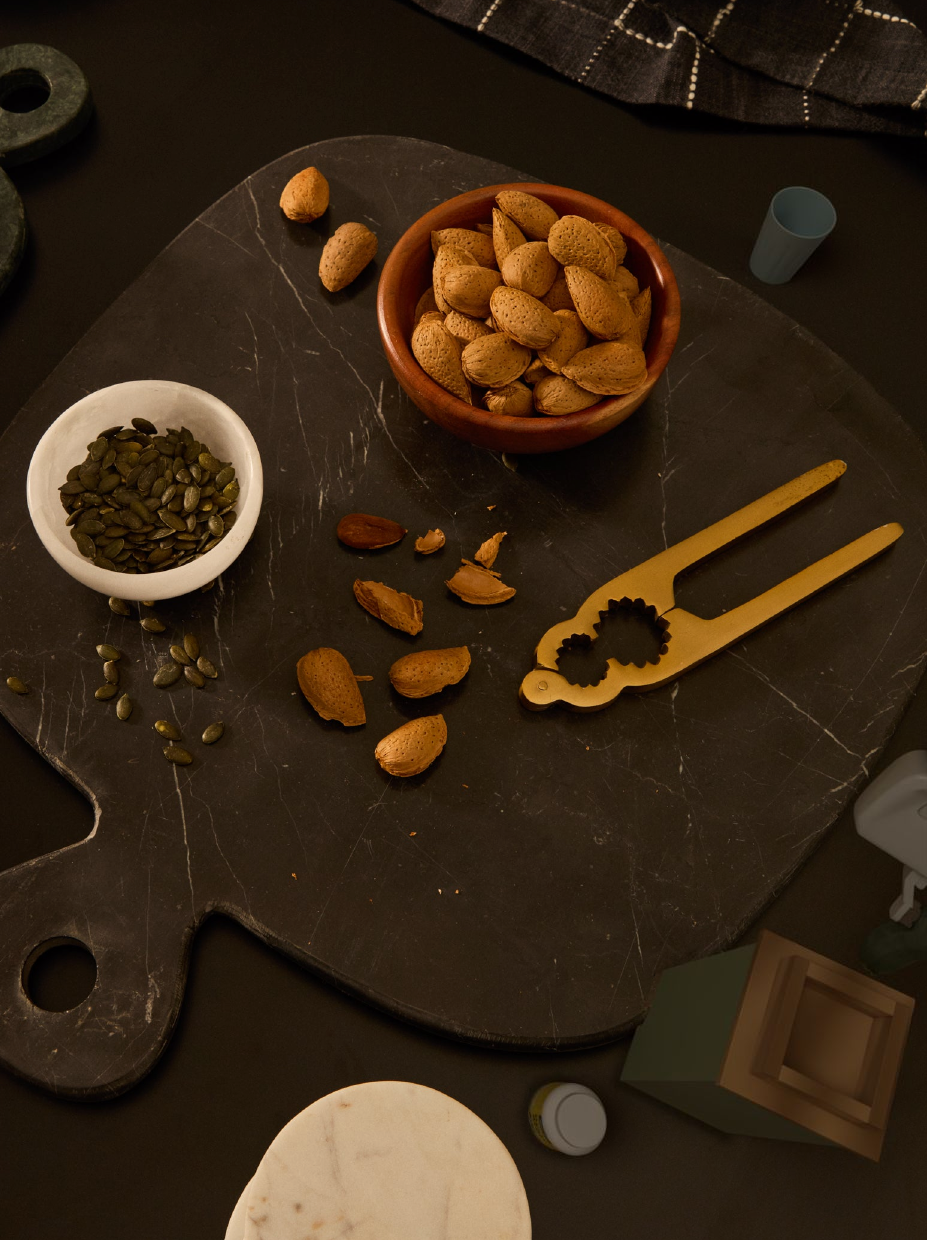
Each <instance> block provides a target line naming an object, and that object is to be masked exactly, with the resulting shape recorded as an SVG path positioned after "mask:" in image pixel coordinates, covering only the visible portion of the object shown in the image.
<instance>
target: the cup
mask: <svg viewBox="0 0 927 1240" xmlns="http://www.w3.org/2000/svg"><path fill="white" fill-rule="evenodd" d="M836 223H837V212H836V209H835V207H834V205H833V204H832V202H831V201H830V200H829V198H827V197H826V196H825V195H823V194H822V193H820V192H818V191H817V190H815V189H812V188H809V187H805V186H789V187H786V188H783V189H781V190H779V191H778V192H777V193H775V195H773V198H772V199H771V202H770V204H769V207H768V210H767V213H766V215H765V218H764V220H763V223H762V226H761V228H760V231H759V234H758V237H757V239H756V242H755V245H754V247H753V249H752V252H751V255H750V258H749V268H750V270H751V273H752V275H754V276H755V277H756V278H757V279H759V280H760V281H761V282H762V283H763V282H764V283H767V284H769V285H783V284H784V283H788V282H789V281H790V280H791V279H792V278H793V277H794V275H796V274H797V272H798V271H799V270H800V269H801V267H802V266H803V265H804V263H806V261H807V260H808V259H809V258H810V256H811V255H812V254H813V253H814V252H815V251H816V249H818V247H819V246H820V244H822V242H823V241H824V240H825V239H826V238H827V237H828V236H829V235H830V233H831V232H832V231H833V229H834V228H835V226H836Z"/></svg>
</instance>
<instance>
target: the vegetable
mask: <svg viewBox="0 0 927 1240" xmlns="http://www.w3.org/2000/svg"><path fill="white" fill-rule="evenodd" d="M920 910H921V911H922V916H921V917H920V918H919V919H918V920H917V921H916V922H913V926H912V927H911V928H910V929H907V928H905V927H904V926H902V925H900V924H899V923H897V922H895V921H894V920H892V919H891V918H890V919H887V920H885V921H884V922H883V921H882V922H881V923H879V924H878V925H876V926H875V927H874V928H872V930H870V932H869V933H868V934H866V936H864V938H863V939H862V941H861V942H860V945H859V960H860V962H861V963H862V966H863V969H864V970H865V971H867V972H869V976H871V977H876V976H879V975H891V974H895V972H897V971H899V970H902V969H904V968H907V967H909V966H911V965H913V964H914V963H916V962H919V961H927V905H924V906H921V908H920Z"/></svg>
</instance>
